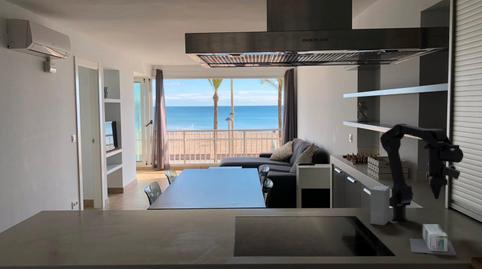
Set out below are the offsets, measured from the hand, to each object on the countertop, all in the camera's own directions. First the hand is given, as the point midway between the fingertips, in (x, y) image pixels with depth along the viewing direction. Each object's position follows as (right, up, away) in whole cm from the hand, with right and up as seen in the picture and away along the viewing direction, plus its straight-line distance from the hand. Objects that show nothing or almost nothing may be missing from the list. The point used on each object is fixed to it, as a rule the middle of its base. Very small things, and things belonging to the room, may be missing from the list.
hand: (436, 198), depth 168 cm
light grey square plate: (-10, -15, -18) cm, 25 cm away
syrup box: (-7, -11, -10) cm, 16 cm away
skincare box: (-17, -13, +16) cm, 27 cm away
